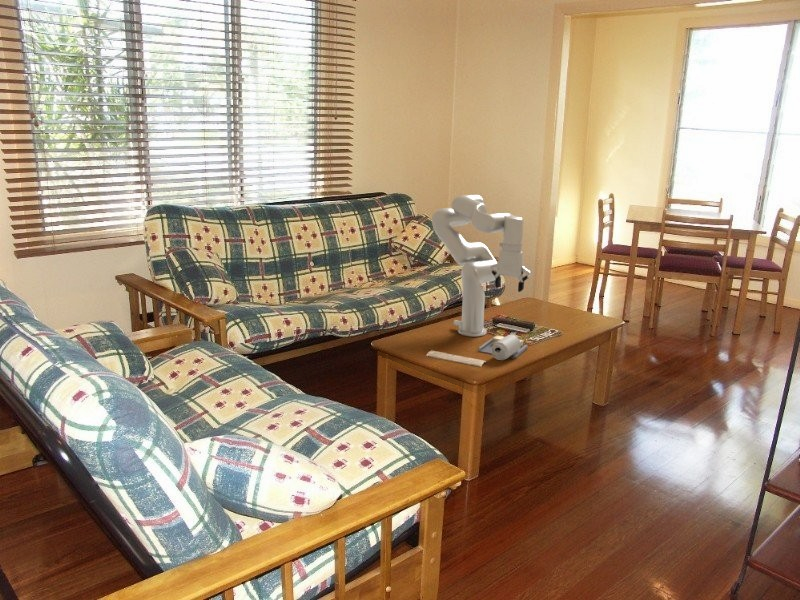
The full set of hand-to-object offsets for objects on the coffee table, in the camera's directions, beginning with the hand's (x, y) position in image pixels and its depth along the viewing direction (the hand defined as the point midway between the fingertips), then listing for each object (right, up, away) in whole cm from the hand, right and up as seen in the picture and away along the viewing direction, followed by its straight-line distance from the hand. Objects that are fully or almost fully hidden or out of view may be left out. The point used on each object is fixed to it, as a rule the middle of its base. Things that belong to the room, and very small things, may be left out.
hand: (509, 289), depth 287 cm
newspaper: (-22, -28, -7) cm, 36 cm away
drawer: (-2, -25, +4) cm, 25 cm away
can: (+2, -21, -1) cm, 22 cm away
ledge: (+1, -24, +8) cm, 25 cm away
